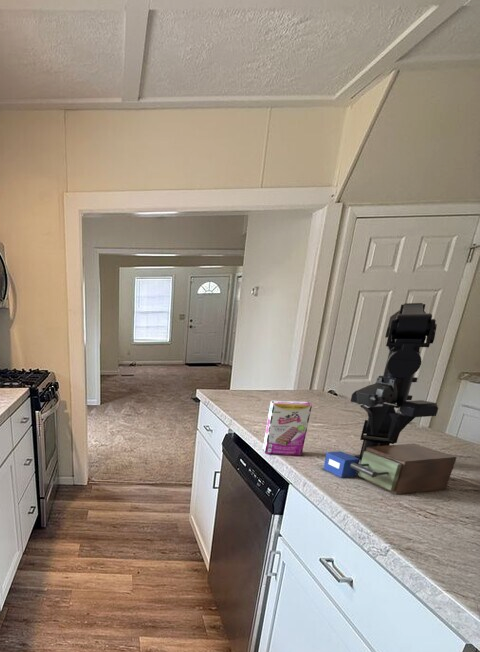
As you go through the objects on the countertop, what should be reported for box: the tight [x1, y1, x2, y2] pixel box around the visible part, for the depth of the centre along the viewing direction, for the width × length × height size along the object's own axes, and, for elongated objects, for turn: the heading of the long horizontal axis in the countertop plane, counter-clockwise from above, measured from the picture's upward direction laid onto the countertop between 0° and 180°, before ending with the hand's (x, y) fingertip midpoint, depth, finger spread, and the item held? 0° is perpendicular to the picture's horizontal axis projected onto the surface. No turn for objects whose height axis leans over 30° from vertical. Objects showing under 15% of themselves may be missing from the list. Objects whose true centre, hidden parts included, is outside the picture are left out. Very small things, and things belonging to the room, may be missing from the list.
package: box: [323, 450, 361, 479], centre depth 111 cm, size 7×4×5 cm, turn 10°
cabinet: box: [359, 443, 458, 495], centre depth 103 cm, size 15×12×9 cm
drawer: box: [350, 451, 402, 490], centre depth 103 cm, size 18×10×7 cm, turn 100°
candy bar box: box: [262, 399, 313, 456], centre depth 126 cm, size 11×5×16 cm, turn 78°
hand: (381, 437), depth 98 cm, fingers open, 5 cm apart
